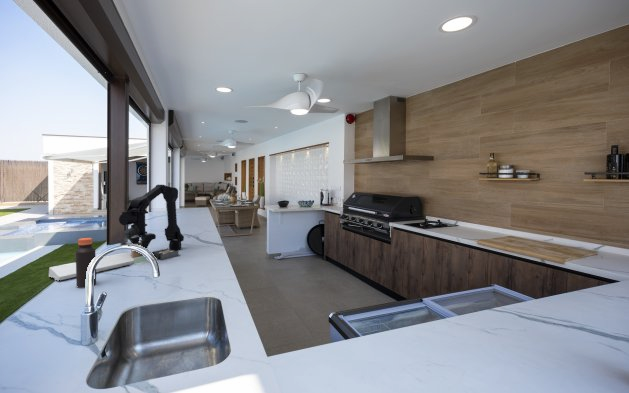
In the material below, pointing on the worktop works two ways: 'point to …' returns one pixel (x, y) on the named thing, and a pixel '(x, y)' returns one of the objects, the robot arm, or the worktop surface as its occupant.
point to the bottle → (84, 260)
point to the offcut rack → (165, 256)
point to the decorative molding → (105, 264)
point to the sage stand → (140, 260)
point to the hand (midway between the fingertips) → (139, 251)
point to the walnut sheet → (136, 254)
